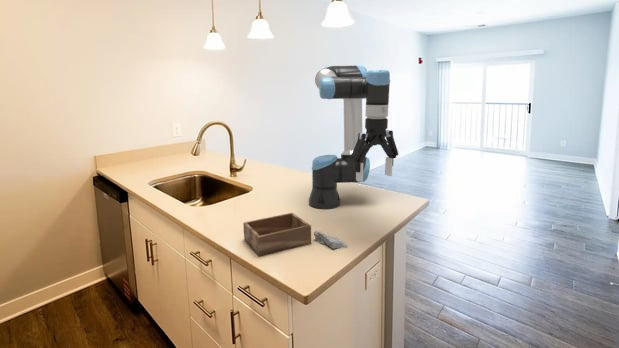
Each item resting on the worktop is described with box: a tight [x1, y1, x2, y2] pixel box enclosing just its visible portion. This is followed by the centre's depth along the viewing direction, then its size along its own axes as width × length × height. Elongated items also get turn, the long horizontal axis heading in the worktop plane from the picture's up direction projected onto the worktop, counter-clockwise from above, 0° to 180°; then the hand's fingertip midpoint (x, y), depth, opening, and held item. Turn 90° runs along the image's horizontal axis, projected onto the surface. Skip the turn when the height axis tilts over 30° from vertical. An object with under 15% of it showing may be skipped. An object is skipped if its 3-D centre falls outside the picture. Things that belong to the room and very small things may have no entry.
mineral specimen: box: [313, 230, 348, 249], centre depth 126 cm, size 6×12×4 cm, turn 40°
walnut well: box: [243, 212, 312, 258], centre depth 127 cm, size 15×20×7 cm
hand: (374, 178), depth 123 cm, fingers open, 13 cm apart
